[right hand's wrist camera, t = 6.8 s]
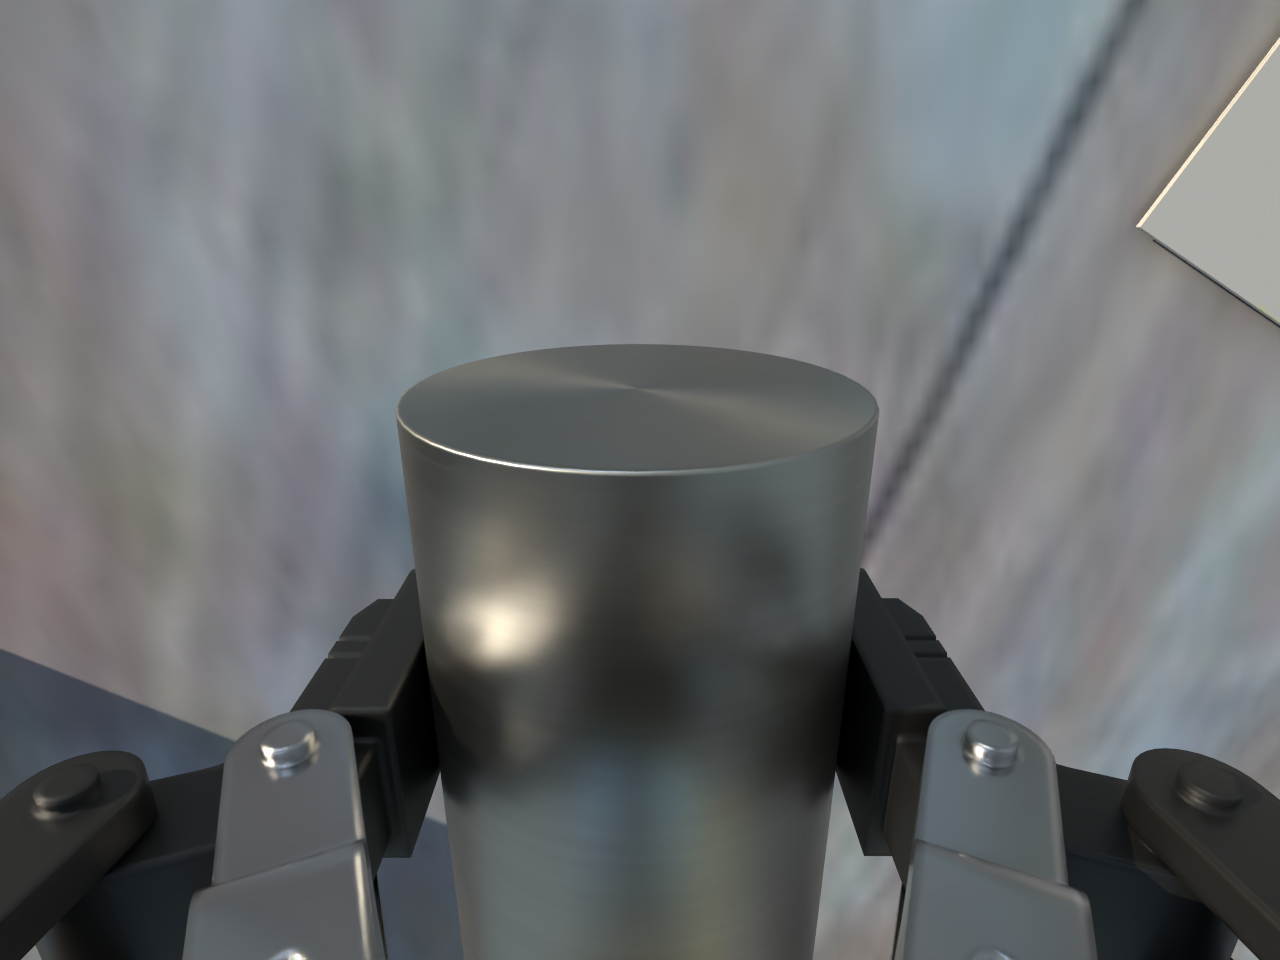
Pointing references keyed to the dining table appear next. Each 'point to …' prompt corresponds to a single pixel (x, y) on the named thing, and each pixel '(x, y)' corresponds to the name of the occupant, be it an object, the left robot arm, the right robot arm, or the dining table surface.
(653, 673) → the rod
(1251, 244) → the invitation card
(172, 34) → the dining table surface
